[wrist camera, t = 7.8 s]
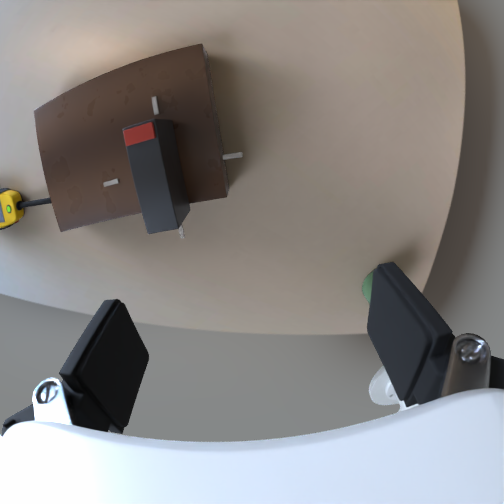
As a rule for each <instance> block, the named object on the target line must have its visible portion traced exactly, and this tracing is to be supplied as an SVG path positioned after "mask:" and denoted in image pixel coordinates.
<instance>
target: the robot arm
mask: <svg viewBox="0 0 504 504" xmlns="http://www.w3.org/2000/svg"><path fill="white" fill-rule="evenodd" d="M367 331H368V334H369V336H370V338H371V341H372V342H373V345H374V347H375V349H376V351H377V353H378V355H379V357H380V359H381V361H382V363H383V366H384V368H385V370H386V372H387V374H388V376H389V379H390V380H389V381H388V383H387V385H386V388H385V393H386V395H387V397H388V398H389V399H391V400H398V402H399V404H400V409H399V411H398V413H395V414H392V415H388V416H385V417H382V418H378V419H375V420H371V421H367V422H364V423H360V424H356V425H352V426H347V427H343V428H339V429H334V430H329V431H324V432H318V433H313V434H307V435H301V436H294V437H285V438H277V439H268V440H256V441H238V442H189V441H171V440H159V439H149V438H140V437H133V436H126V435H120V434H122V433H123V430H124V427H126V426H127V425H128V423H129V419H130V416H131V413H132V409H133V406H134V403H135V399H136V397H137V393H138V390H139V387H140V384H141V381H142V378H143V375H144V372H145V369H146V366H147V364H148V360H149V354H148V351H147V349H146V347H145V345H144V344H143V341H142V340H141V338H140V336H139V334H138V332H137V330H136V327H135V325H134V323H133V321H132V319H131V317H130V315H129V313H128V310H127V308H126V306H125V304H124V303H121V301H120V300H118V299H114V300H105V301H104V302H103V303H102V305H101V306H100V308H99V309H98V311H97V312H96V314H95V315H94V317H93V318H92V320H91V321H90V323H89V324H88V326H87V328H86V329H85V331H84V332H83V334H82V335H81V337H80V339H79V340H78V342H77V343H76V345H75V347H74V348H73V350H72V352H71V353H70V355H69V357H68V358H67V360H66V362H65V363H64V365H63V367H62V369H61V370H60V372H59V374H60V375H61V377H62V378H63V381H62V382H61V381H60V380H59V379H57V378H48V379H45V380H44V381H42V382H41V383H40V384H39V385H38V386H37V387H36V389H35V391H34V393H33V404H32V405H30V406H28V407H27V408H25V409H23V410H21V411H20V412H18V413H16V414H14V415H12V416H11V417H9V418H8V419H6V420H5V422H4V424H3V428H2V435H1V434H0V504H504V359H500V358H497V357H494V356H491V352H490V347H489V346H488V343H487V342H486V341H485V340H484V339H483V338H481V337H480V336H478V335H475V334H470V333H466V334H461V335H459V336H457V337H455V336H454V335H453V334H452V330H451V329H450V328H449V326H448V325H447V324H446V323H445V321H444V320H443V319H442V317H441V316H440V315H439V314H438V312H437V311H436V310H435V309H434V308H433V306H432V305H431V304H430V303H429V301H428V300H427V299H426V298H425V297H424V296H423V294H422V293H421V292H420V291H419V290H418V289H417V287H416V286H415V285H414V284H413V283H412V282H411V281H410V280H409V278H408V277H407V276H406V275H405V274H404V273H403V272H402V271H401V270H400V268H399V267H398V266H397V265H396V264H395V263H394V262H390V263H384V264H379V265H378V267H377V269H374V271H373V279H372V290H371V299H370V308H369V316H368V323H367ZM108 430H110V431H111V432H115V433H120V434H114V433H109V432H108Z"/></svg>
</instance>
